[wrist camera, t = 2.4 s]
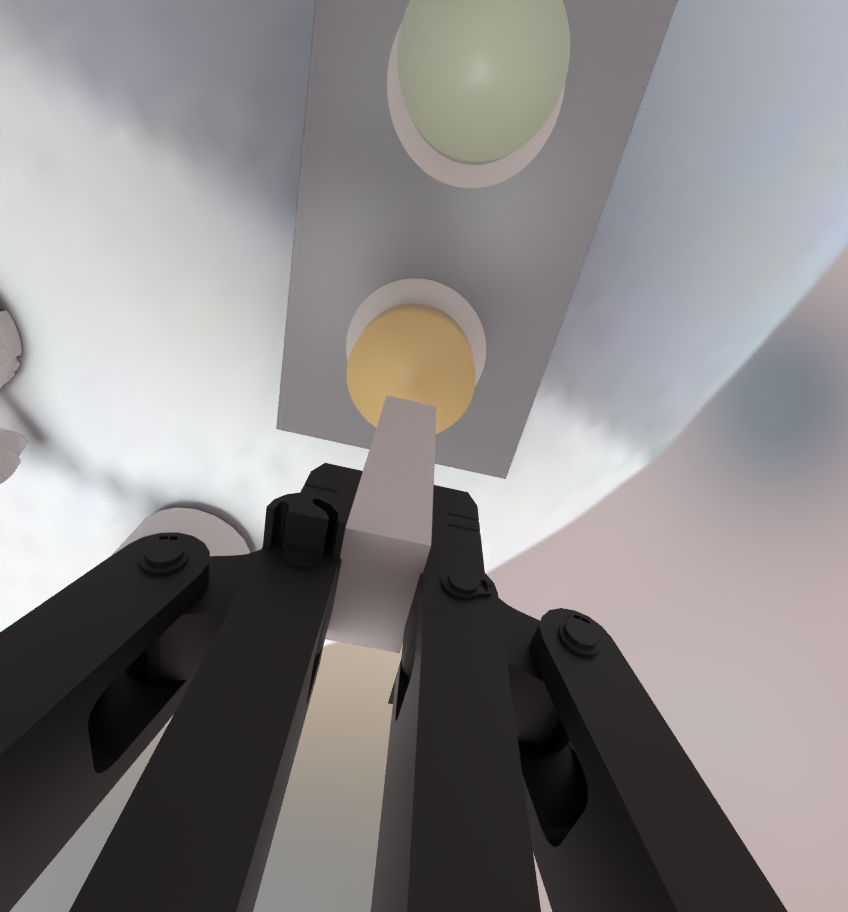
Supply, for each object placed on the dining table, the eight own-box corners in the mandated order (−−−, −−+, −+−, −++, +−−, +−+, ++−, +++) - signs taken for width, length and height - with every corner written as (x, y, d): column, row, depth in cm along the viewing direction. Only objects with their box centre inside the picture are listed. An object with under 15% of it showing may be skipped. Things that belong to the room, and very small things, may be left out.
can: (262, 514, 31) (165, 680, 20) (253, 599, 34) (167, 779, 23) (141, 487, 30) (-25, 645, 19) (144, 577, 33) (5, 752, 23)
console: (407, -665, 13) (396, -915, 10) (826, -502, 14) (927, -687, 11) (292, 406, 27) (275, 430, 24) (499, 452, 28) (506, 480, 25)
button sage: (421, -49, 15) (417, -84, 13) (579, -2, 15) (597, -29, 13) (389, 144, 17) (382, 137, 15) (526, 181, 17) (536, 178, 15)
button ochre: (365, 290, 19) (357, 299, 17) (487, 320, 20) (491, 331, 18) (346, 405, 21) (337, 423, 20) (456, 429, 22) (457, 449, 20)
